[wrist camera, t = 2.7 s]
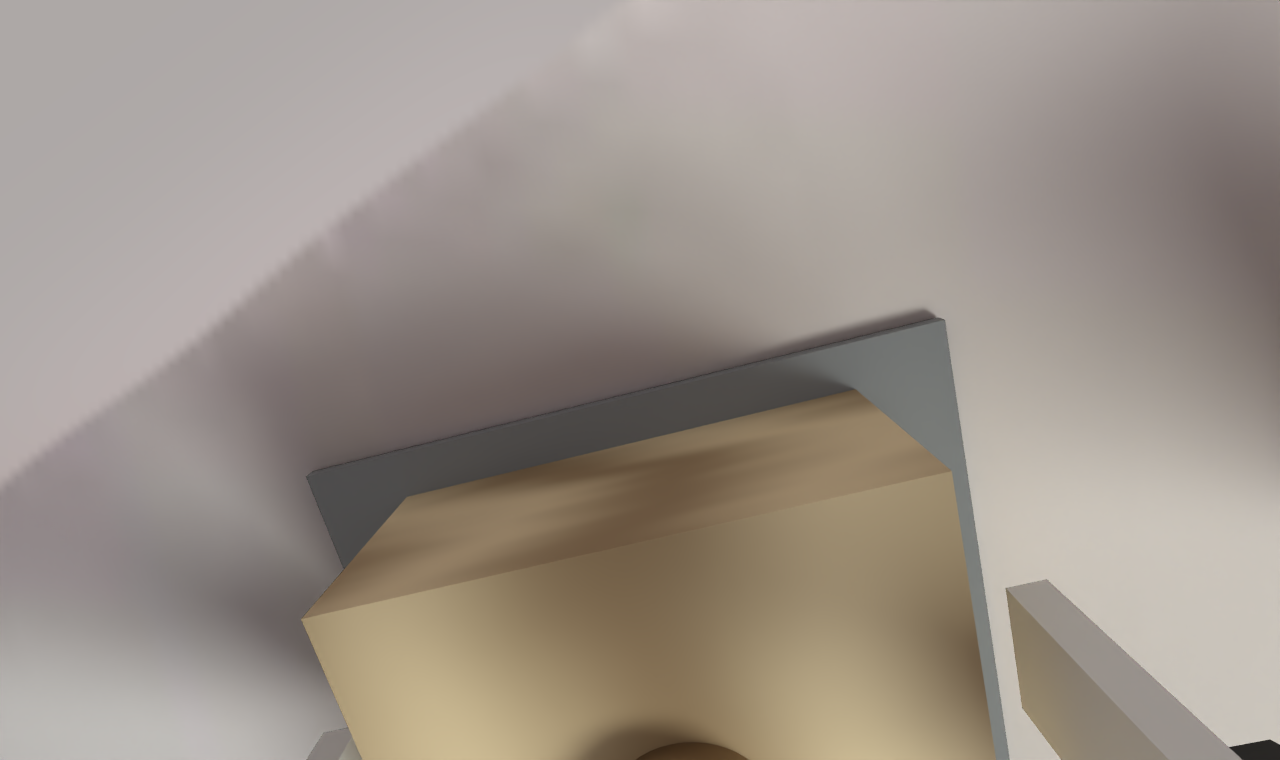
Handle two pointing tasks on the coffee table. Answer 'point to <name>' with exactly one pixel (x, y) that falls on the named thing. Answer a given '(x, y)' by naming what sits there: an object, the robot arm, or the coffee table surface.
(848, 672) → the lid
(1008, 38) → the coffee table surface
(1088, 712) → the robot arm
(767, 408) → the mat
